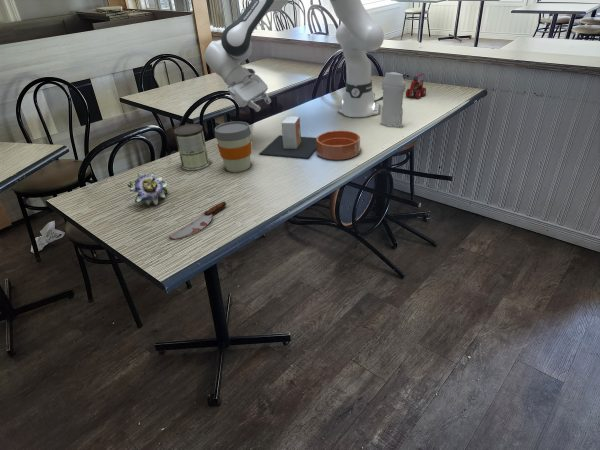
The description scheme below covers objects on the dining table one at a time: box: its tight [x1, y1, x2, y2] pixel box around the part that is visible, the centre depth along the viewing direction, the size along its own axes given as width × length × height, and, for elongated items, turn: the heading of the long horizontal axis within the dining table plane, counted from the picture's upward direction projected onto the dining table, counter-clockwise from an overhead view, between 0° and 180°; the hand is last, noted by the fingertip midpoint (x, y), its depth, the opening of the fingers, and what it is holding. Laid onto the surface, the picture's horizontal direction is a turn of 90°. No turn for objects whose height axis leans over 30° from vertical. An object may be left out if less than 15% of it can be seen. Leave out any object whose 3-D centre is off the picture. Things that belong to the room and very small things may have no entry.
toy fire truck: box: [405, 73, 427, 99], centre depth 211 cm, size 7×12×10 cm, turn 139°
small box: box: [280, 116, 302, 149], centre depth 163 cm, size 8×6×10 cm
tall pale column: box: [380, 71, 407, 128], centre depth 174 cm, size 11×4×22 cm, turn 51°
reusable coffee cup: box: [214, 121, 252, 173], centre depth 149 cm, size 13×13×15 cm
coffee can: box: [173, 123, 210, 171], centre depth 154 cm, size 10×10×14 cm
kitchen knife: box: [169, 201, 227, 240], centre depth 121 cm, size 21×2×5 cm
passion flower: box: [127, 171, 168, 206], centre depth 134 cm, size 11×11×12 cm
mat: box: [259, 134, 317, 160], centre depth 166 cm, size 20×20×1 cm
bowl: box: [315, 130, 361, 161], centre depth 158 cm, size 16×16×6 cm
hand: (264, 106), depth 161 cm, fingers open, 8 cm apart
